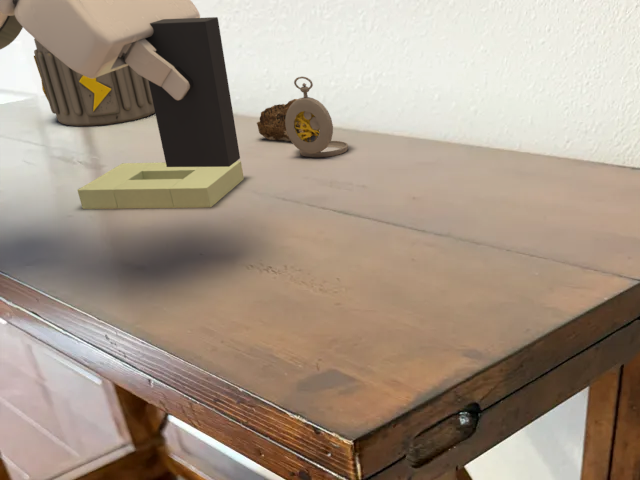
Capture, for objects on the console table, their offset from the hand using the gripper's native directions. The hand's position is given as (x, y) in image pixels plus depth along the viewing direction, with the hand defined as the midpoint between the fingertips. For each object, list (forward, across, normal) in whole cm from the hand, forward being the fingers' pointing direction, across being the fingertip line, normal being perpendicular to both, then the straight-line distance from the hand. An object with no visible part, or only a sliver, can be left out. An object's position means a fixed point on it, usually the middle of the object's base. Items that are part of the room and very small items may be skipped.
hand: (196, 88), depth 70 cm
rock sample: (+5, -50, -16) cm, 53 cm away
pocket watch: (+10, -40, -11) cm, 43 cm away
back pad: (+4, 0, -5) cm, 6 cm away
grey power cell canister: (-23, -73, -45) cm, 89 cm away
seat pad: (-1, -22, -22) cm, 31 cm away
